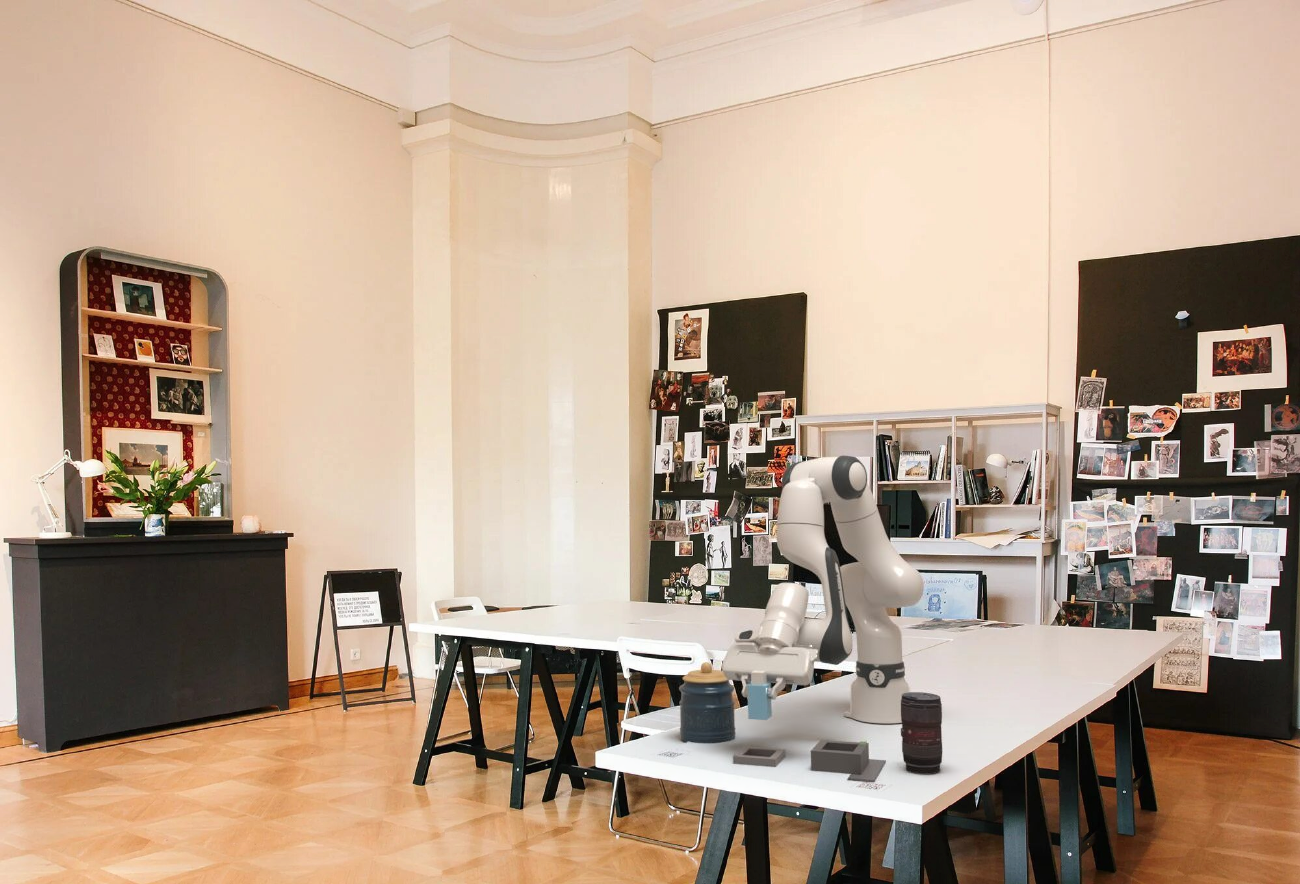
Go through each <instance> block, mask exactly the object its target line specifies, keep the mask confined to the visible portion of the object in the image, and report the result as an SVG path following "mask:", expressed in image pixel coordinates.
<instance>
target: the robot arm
mask: <svg viewBox="0 0 1300 884" xmlns="http://www.w3.org/2000/svg"><path fill="white" fill-rule="evenodd" d="M781 487H782V490H781V494H780V500H779V504H778V511H777V519H776V544H777V548H778V550H779V552H780V553H781V554H782V556H783V557H784V558H785V559H787V560H788V561H789V562H791V563H793V564H794V565H798V566H800V567H802V568H804V569H806V570H809V571H810V572H812V573H813V574H815V575H816V577H818V579H819V581H820V582H821V588H822V589H821V590H822V595H823V596H822V597H823V603H824V604H823V605H824V611H825V617H824V618H808V617H806V615H807V609H808V605H809V596H810V595H809V590H808V589H807V587H805V586H804V585H801V584H799V583H796V582H789V581H788V582H787V581H785V582H781V583H778V584H777V585H776V587H775V588H774V589H773V590H772V593H771V595H770V597H769V599H768V602H767V604H766V607H765V611H764V619H763V620H762V622H761V623H760V625H759V626H757V627H754V628H751V629H747V630H743V631H739V632H736V634H735V635H734V641H735V642H734V643H733V644H731V645H730V646H729V648H728V650H727V652H726V654H725V656H724V658H723V661H722V664H721V671H723V673H724V675H725V676H726V678H727V679H728V680H729V681H741V683H742V690H741V695H742V697H744V698H748V689H747V685H749V684H750V683H751V672H753V671H754V670H758V671H766V677H767V683H771V684H775V685H774V686H772V687H771V688H769V689H768V692H767V697H768V699H771V700H777V696H778V694H779V693H781V691H783V690H784V689H785V687H786V685H795V686H796V685H798V686H808V685H809V684H811V682H812V681H813V676H814V669H815V663H816V662H817V663H822V664H828V665H834V666H837V665H840V664H841V663H843V662H844V661H845V660H847V658H848V657H850V656H851V654H852V652H853V636H852V632H851V626H850V623H849V618H848V612H847V609H848V611H849V613H850V616H851V618H852V621H853V626H854V630H855V634H856V646H857V647H856V649H857V650H856V651H857V652H856V653H857V660H856V661H855V672H856V673H855V674H856V678H855V679H854V680H853V681H852V682H851V683H850V708H849V709H847V710H845V711H844V712H843V716H844V717H846V718H851V719H854V720H856V721H859V722H864V723H871V724H872V723H873V724H900V723H901V724H902V721H901V699H902V694H903V693H908V692H911V686H910V685H909V683H908V682H907V681H906V679H905V676H906V674H905V672H906V667H905V662H904V661H903V638H902V637H903V635H902V631H901V629H900V628H899V627H898V626H897V624H895V623H894V622H893V620H891V619H890V616H889V614H888V613H887V609H886V608H894V609H901V608H906V607H907V608H908V607H912V606H915V605H916V604H918V603H919V602H920V600H921V599H922V597H923V595H924V591H925V590H924V589H925V584H924V580H923V576H922V574H921V573H920V572H919V571H918V570H917V569H916V568H915V567H913V566H911V565H910V564H909V563H908V562H907V561H906V560H904V558H903V557H902V556H901V555H900V553H899V552H898V551H897V550H896V548H895V547H894V546H893V544H892V543H891V541H890V539H889V537H888V535H887V533H886V530H885V527H884V524H883V521H882V519H881V515H880V512H879V509H878V506H877V502H876V499H875V498H874V494H873V492H872V489H871V488H870V486H869V484H868V473H867V469H866V467H865V466H864V464H863V462H862V461H861V460H860V459H858V458H857V457H855V456H853V455H852V456H851V455H840V456H823V457H819V458H814V459H809V460H805V461H802V460H801V461H796V462H794V463H792V464H790V465H789V466H787V467H786V469H785V470H784V472H783V475H782V478H781ZM829 503H830V507H831V511H832V515H833V518H834V519H833V520H834V522H835V525H836V529H837V532H838V535H839V538H840V542H841V544H842V548H843V549H844V550H845V551H846V552H847V553H848V554H850V556H852V557H853V558H854V559H856V560H857V561H856V562H851V563H848V564H847V563H846V564H843V565H840V562H839V558H838V555H837V553H836V551H835V550H834V549H833V548H830V546H829V545H828V543H827V538H826V535H825V511H824V510H825V509H824V504H829Z"/></svg>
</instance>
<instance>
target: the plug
mask: <svg viewBox="0 0 1300 884" xmlns="http://www.w3.org/2000/svg"><path fill="white" fill-rule="evenodd" d="M769 688H772V683H767V677H766V671H758V670H754V671H753V672H751V683H750V684H749V685H747V689H748V697H747V712H748V713H747V714H748V715H747V716H748V717H747V718H748V720H756V721H757V720H758V721H760V720H761V721H768V720H769V719H770V718H771V717H772V716H773V712H772V711H773V710H772V699H768V697H767V692H768V689H769Z"/></svg>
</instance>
